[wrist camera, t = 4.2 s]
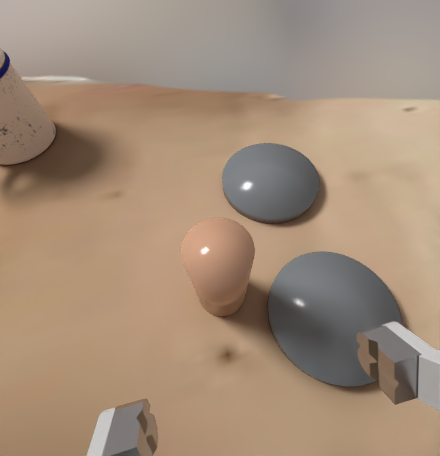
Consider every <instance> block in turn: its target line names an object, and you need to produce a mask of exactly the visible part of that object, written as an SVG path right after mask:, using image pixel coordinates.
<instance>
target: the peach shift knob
mask: <svg viewBox="0 0 440 456" xmlns="http://www.w3.org/2000/svg"><path fill="white" fill-rule="evenodd" d="M254 254H255V248H254V243H253V240H252V237H251V235H250V234H249V232H248V231H247V230H246V229H245V228H244V227H243V226H242V225H240V224H239V223H237V222H235V221H233V220H230V219H227V218H211V219H207V220H204V221H202V222H200V223H198V224H196V225H195V226H194V227H192V228H191V229H190V230H189V232H188V233H187V234H186V236H185V238H184V240H183V243H182V247H181V257H182V261H183V264H184V266H185V269H186V271H187V273H188V275H189V278H190V280H191V282H192V284H193V287H194V289H195V291H196V293H197V296H198V298H199V300H200V302H201V304H202V306H203V308H204V309H205V310H206V311H207V312H209V313H210V314H212V315H215V316H221V317H223V316H229V315H231V314H233V313H235V312H236V311H237V310H238V309H239V308H240V307H241V306H242V304H243V302H244V299H245V295H246V290H247V286H248V281H249V277H250V273H251V268H252V264H253V259H254Z"/></svg>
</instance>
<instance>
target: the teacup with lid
mask: <svg viewBox="0 0 440 456" xmlns="http://www.w3.org/2000/svg"><path fill="white" fill-rule="evenodd" d="M55 134H56V129H55V125H54V123H53V122H52V120H51V119H50V118H49V116H48V115H47V114H46V112H45V111H44V109H43V108H42V107H41V105H40V104H39V102H38V101H37V100H36V98H35V97H34V96H33V94H32V93H31V91H30V90H29V89H28V87H27V86H26V84H25V83H24V82H23V80H22V79H21V77H20V76H19V75H18V73H17V72H16V71H15V69H14V68H13V67H12V65H11V64H10V59H9V57H8V55H7V54H6V53H5V52H4V51H2V50H1V49H0V164H4V165H10V164H17V163H21V162H25V161H28V160H30V159H32V158H34V157H36V156H38V155H39V154H41V153H42V152H43V151H45V150H46V149H47V148H48V147H49V146H50V144H51V143H52V142H53V140H54V138H55Z"/></svg>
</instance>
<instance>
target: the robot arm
mask: <svg viewBox="0 0 440 456" xmlns="http://www.w3.org/2000/svg"><path fill="white" fill-rule="evenodd" d="M357 342H358V343H359V344H360V347H359V349H358V351H357V352H358V359H359V361H360V363H361V366H362V367H363V369H364V370H365V372H366V373H367V374H368V375H369V376H370V377H371V378H373V379H375V380H377V381H379V387H380V389H381V390H382V391H383V392H384V393H385V394H386V395H387V397H388V398H389V399H390V400H391V401H392V402H393V403H394V404H395V405H396V404H399V403H402V402H405V401H409V400H412V399H415V398H418V400H420V401H422V402H424V403H426V404H427V405H429V406H431V407H433V408H435V409H437V410H438V411H440V349H439V350H435V349H434V348H432V347H431V346H430V345H428V344H427V343H426V342H424V341H423V340H421V339H420V338H419V337H417V336H416V335H414V334H413V333H412V332H410V331H409V330H408V329H406V328H405V327H403V326H402V325H401V324H399V323H398V322H395V321H393V322H390V323H387V324H384V325H381V326H377V327H374V328H371V329H368V330H365V331H362V332H359V333H358V334H357ZM149 412H150V404H149V402H148V400H147V399H142V400H138V401H135V402H131V403H128V404H124V405H120V406H117V407H114V408H111V409H107V410H104V411H102V413H101V414H100V416H99V418H98V421H97V424H96V428H95V431H94V434H93V437H92V440H91V443H90V447H89V450H88V453H87V456H153V454H154V452H155V450H156V449H157V443H158V433H157V424H156V420H155V417H154V415H153V414H151V413H149Z"/></svg>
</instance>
